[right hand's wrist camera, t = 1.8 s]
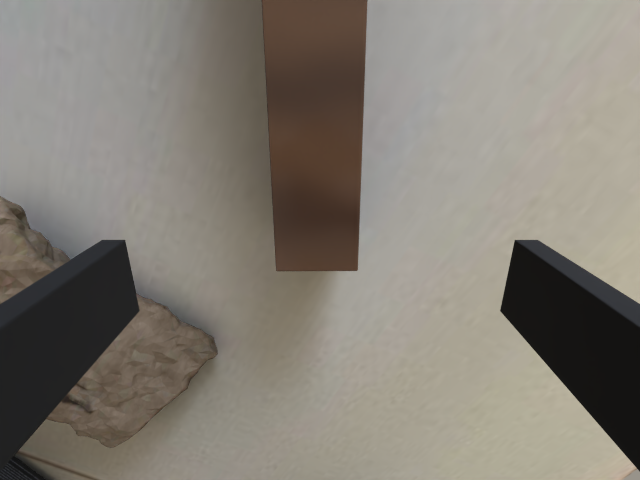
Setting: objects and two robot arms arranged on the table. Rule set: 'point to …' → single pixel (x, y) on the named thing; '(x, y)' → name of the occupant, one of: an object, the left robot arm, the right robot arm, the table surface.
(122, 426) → the stone
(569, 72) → the table surface
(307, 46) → the walnut plank
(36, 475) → the graphics card box
